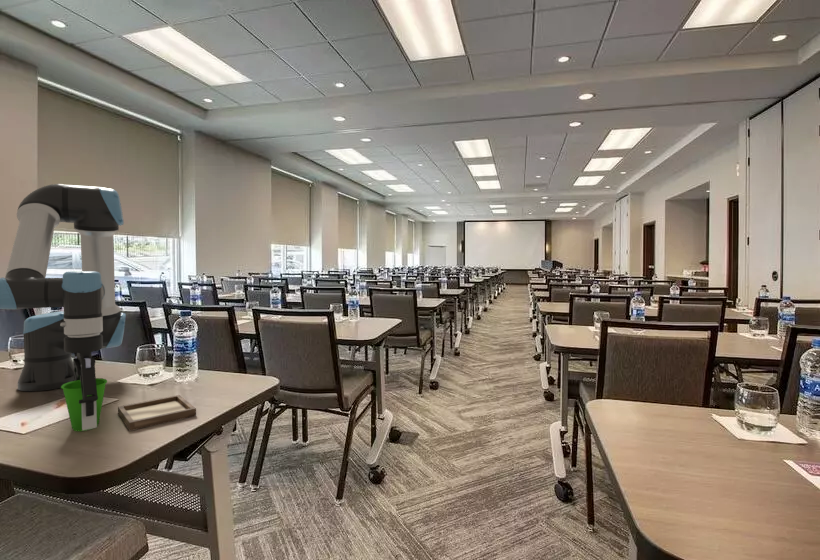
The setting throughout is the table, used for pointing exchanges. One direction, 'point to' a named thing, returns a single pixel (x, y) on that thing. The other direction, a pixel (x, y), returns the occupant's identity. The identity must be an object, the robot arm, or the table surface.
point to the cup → (75, 394)
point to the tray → (155, 412)
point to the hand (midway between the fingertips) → (85, 420)
